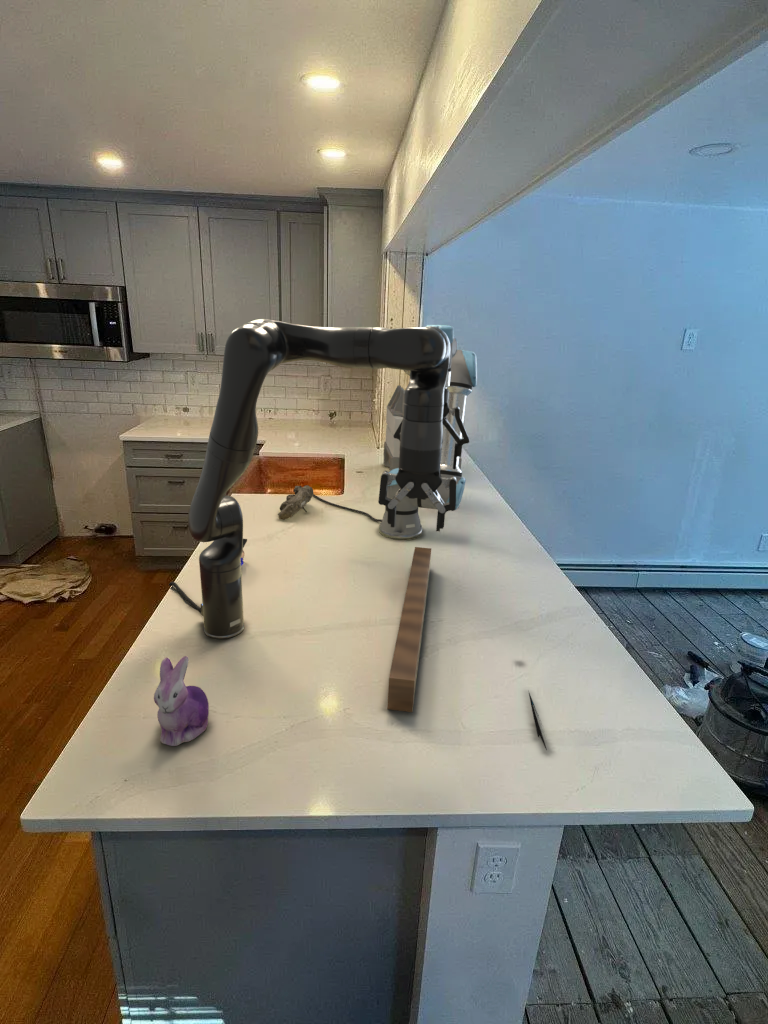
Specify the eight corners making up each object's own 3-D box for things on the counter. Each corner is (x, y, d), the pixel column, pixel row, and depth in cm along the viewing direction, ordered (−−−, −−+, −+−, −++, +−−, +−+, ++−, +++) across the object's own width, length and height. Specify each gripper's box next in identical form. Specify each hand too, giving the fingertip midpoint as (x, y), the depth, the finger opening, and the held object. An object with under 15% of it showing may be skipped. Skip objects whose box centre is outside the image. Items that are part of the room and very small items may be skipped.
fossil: (283, 491, 225) (311, 471, 220) (299, 509, 228) (327, 489, 223) (268, 515, 206) (298, 494, 201) (285, 535, 209) (316, 514, 204)
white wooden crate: (382, 463, 289) (386, 382, 275) (445, 464, 293) (451, 384, 279) (390, 482, 257) (394, 392, 243) (460, 483, 261) (468, 394, 247)
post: (413, 569, 173) (414, 546, 171) (429, 570, 173) (431, 548, 170) (387, 709, 112) (389, 677, 110) (412, 712, 112) (414, 680, 109)
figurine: (161, 756, 98) (153, 683, 93) (154, 719, 106) (146, 651, 101) (216, 740, 102) (211, 669, 97) (205, 705, 111) (200, 639, 106)
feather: (520, 667, 129) (525, 661, 129) (546, 754, 103) (553, 747, 102) (514, 663, 129) (519, 657, 129) (538, 750, 103) (545, 742, 102)
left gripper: (378, 445, 99) (375, 532, 104) (460, 451, 97) (453, 539, 103) (384, 436, 106) (380, 518, 111) (461, 442, 104) (453, 524, 110)
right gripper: (385, 386, 145) (382, 466, 153) (483, 392, 143) (475, 473, 150) (389, 382, 152) (385, 459, 160) (482, 388, 150) (475, 465, 157)
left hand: (415, 528), depth 107 cm, fingers open, 8 cm apart
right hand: (429, 466), depth 155 cm, fingers open, 13 cm apart
